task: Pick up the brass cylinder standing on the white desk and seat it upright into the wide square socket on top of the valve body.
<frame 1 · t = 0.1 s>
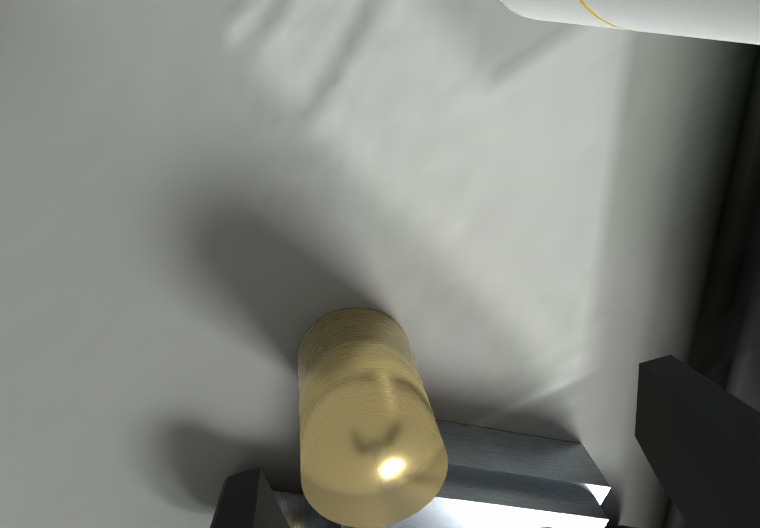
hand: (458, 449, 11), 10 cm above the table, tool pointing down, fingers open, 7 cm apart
valve body: (436, 516, 26), on the table
brass cylinder: (354, 357, 22), on the table
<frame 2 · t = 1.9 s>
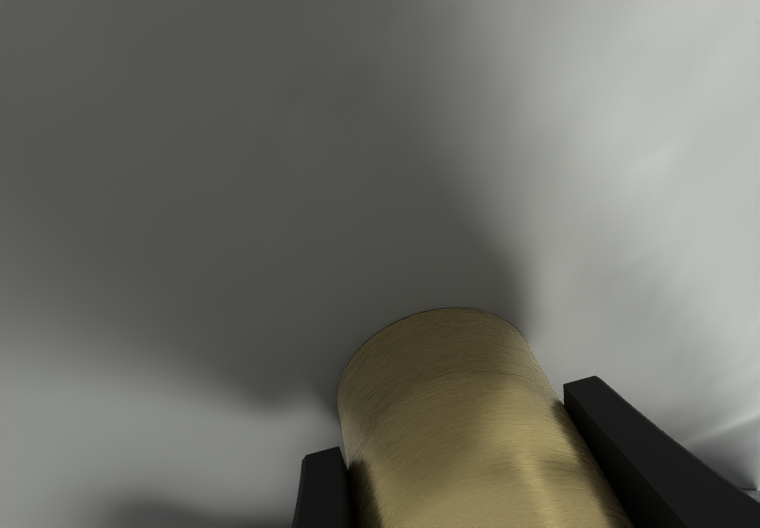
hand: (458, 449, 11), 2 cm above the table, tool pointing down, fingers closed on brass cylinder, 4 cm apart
brass cylinder: (436, 389, 13), on the table, touching gripper
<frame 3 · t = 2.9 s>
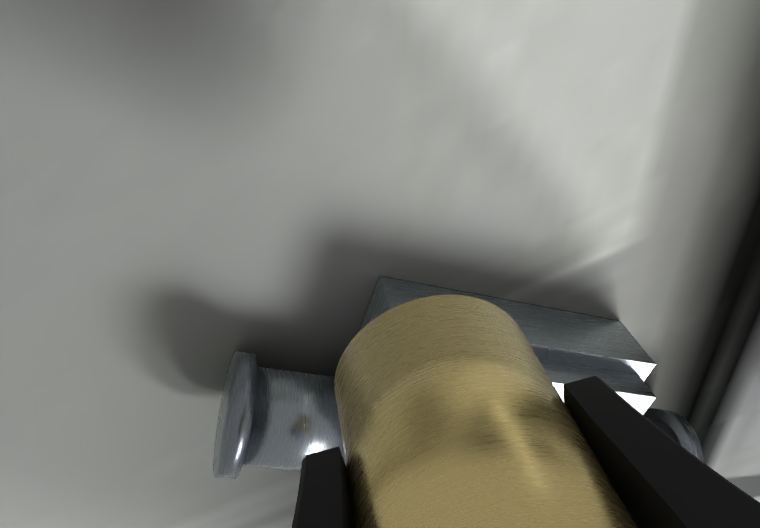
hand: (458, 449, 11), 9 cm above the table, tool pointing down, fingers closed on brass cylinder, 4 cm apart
valve body: (457, 400, 24), on the table
brass cylinder: (432, 375, 13), point 7 cm above the table, touching gripper
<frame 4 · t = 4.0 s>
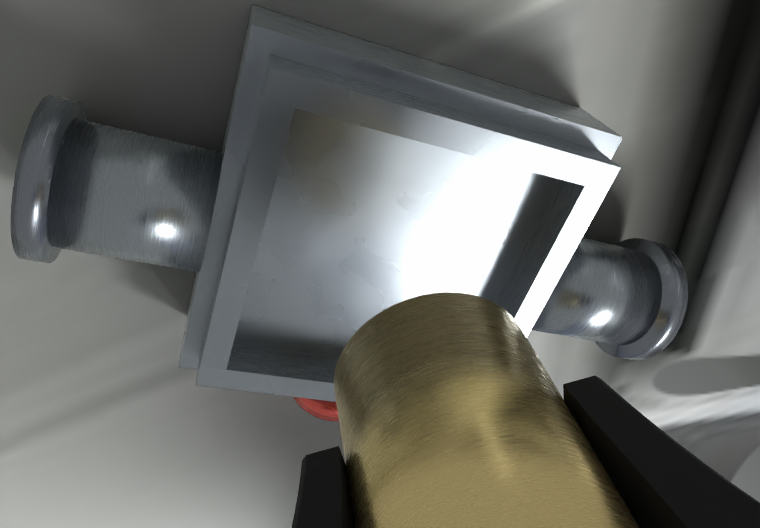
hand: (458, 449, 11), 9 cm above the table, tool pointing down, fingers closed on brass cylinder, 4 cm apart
valve body: (376, 216, 19), on the table
brass cylinder: (432, 373, 13), point 7 cm above the table, touching gripper
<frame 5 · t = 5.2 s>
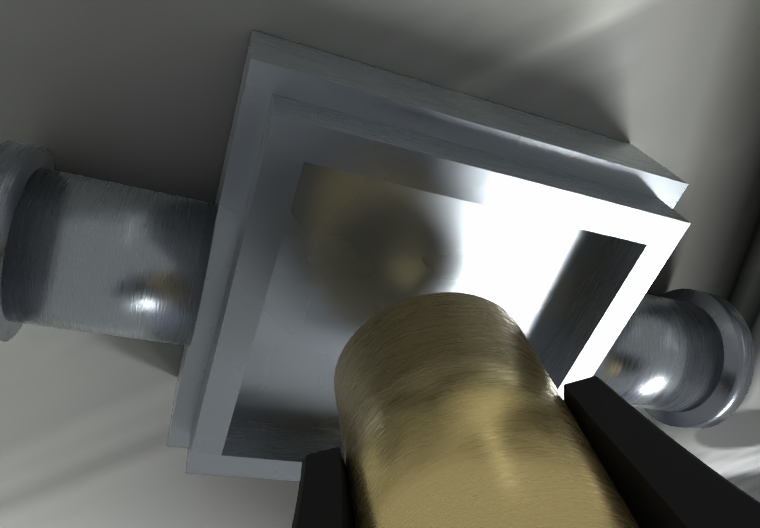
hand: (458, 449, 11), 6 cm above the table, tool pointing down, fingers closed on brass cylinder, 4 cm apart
valve body: (393, 267, 17), on the table
brass cylinder: (432, 373, 13), point 4 cm above the table, touching gripper
when the fingers open (5 cm above the table, at t = 6.3 s): brass cylinder stays where it is, resting on valve body.
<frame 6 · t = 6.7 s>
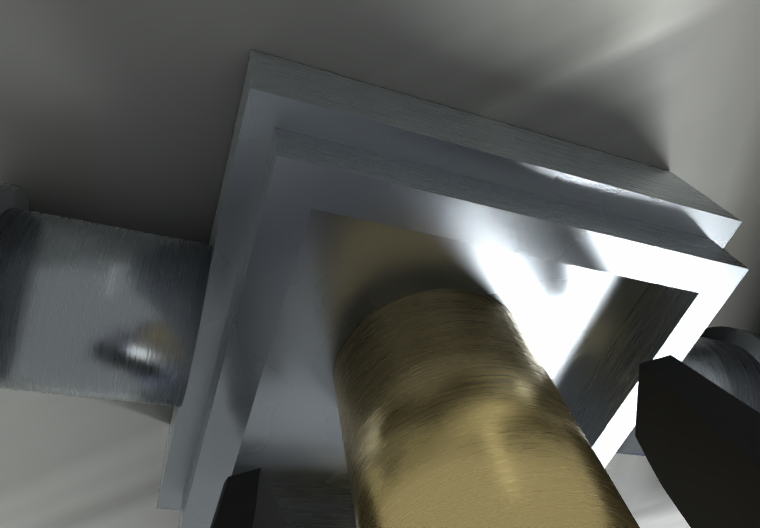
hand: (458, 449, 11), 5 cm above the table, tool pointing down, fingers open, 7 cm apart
valve body: (407, 305, 15), on the table
brass cylinder: (430, 369, 13), point 3 cm above the table, touching valve body
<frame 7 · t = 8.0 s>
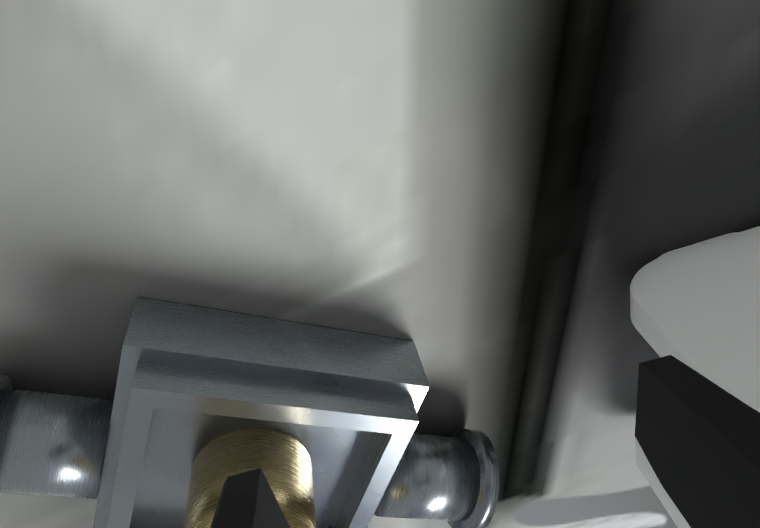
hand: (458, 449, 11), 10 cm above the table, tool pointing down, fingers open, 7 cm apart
valve body: (254, 420, 24), on the table
brass cylinder: (252, 470, 22), point 3 cm above the table, touching valve body
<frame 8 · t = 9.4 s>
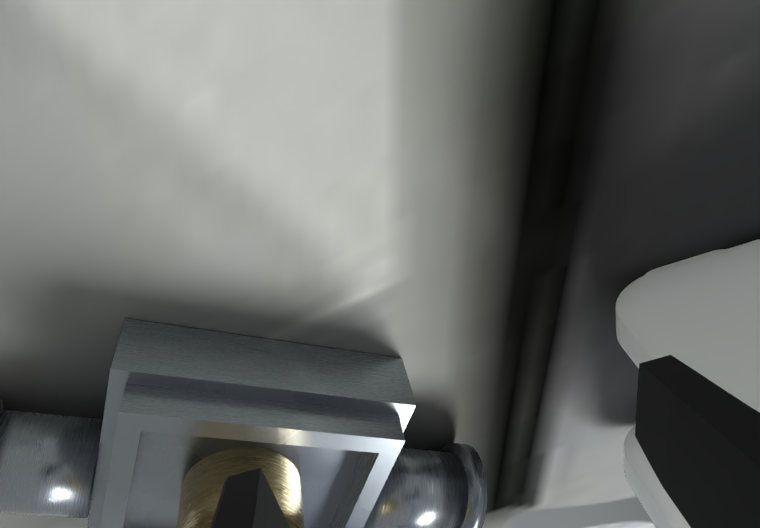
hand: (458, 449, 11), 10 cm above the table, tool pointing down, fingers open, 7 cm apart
valve body: (244, 436, 24), on the table
cable organizer: (758, 318, 26), on the table
brass cylinder: (241, 488, 22), point 3 cm above the table, touching valve body
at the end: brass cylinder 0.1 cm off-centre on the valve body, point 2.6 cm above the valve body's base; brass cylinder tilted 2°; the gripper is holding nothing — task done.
